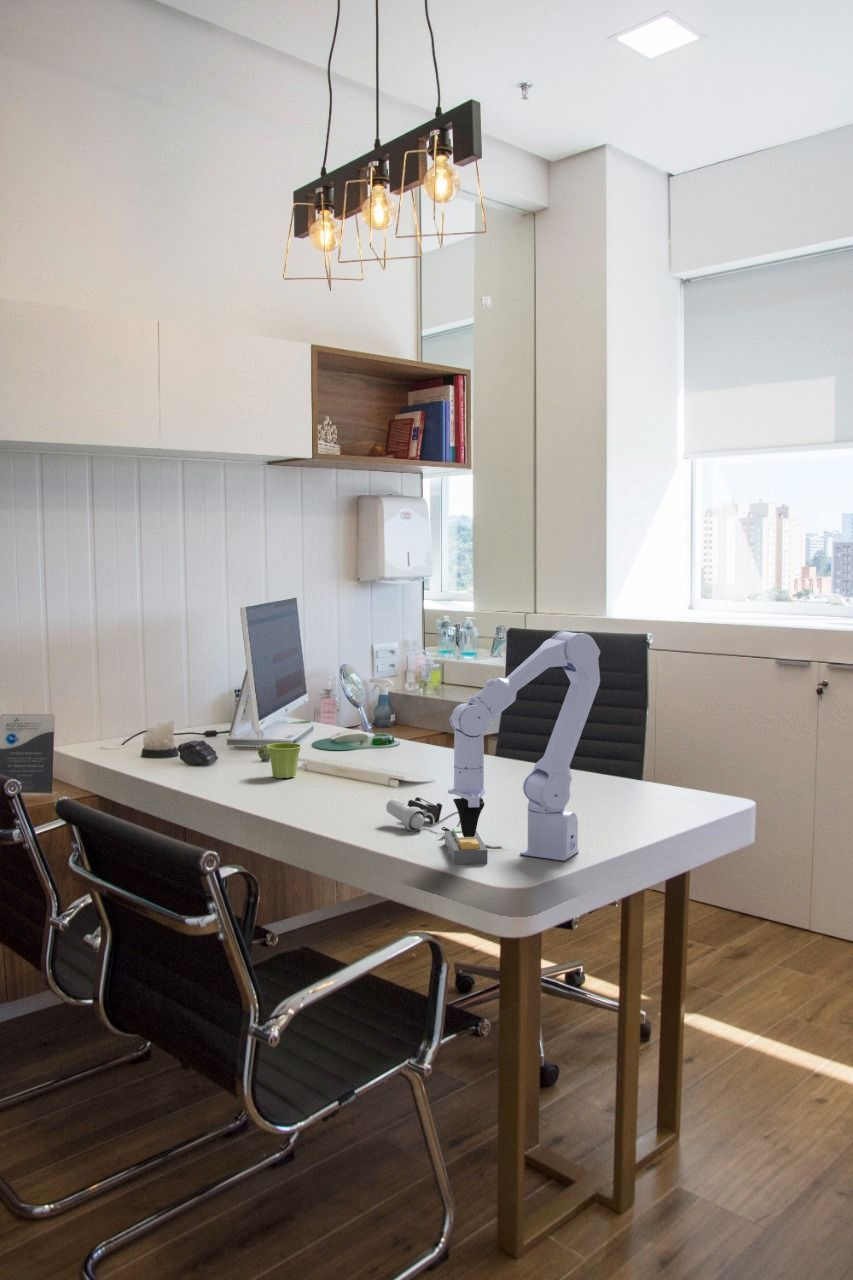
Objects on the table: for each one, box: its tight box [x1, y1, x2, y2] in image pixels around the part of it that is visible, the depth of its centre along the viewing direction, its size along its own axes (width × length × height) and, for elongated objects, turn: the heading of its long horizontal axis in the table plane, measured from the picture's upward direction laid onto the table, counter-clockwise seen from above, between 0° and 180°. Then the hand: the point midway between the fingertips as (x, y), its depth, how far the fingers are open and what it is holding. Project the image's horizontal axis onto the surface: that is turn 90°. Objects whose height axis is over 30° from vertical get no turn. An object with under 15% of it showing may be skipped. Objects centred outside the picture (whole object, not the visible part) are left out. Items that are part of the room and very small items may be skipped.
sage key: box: [452, 826, 462, 837], centre depth 213 cm, size 3×3×2 cm
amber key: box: [459, 839, 479, 850], centre depth 203 cm, size 3×3×2 cm
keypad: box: [444, 830, 488, 865], centre depth 208 cm, size 15×6×3 cm, turn 6°
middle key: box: [456, 833, 475, 843], centre depth 208 cm, size 3×3×2 cm
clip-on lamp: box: [385, 797, 461, 832], centre depth 228 cm, size 12×6×18 cm
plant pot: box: [266, 742, 302, 779], centre depth 285 cm, size 9×9×9 cm
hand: (468, 836), depth 203 cm, fingers closed
